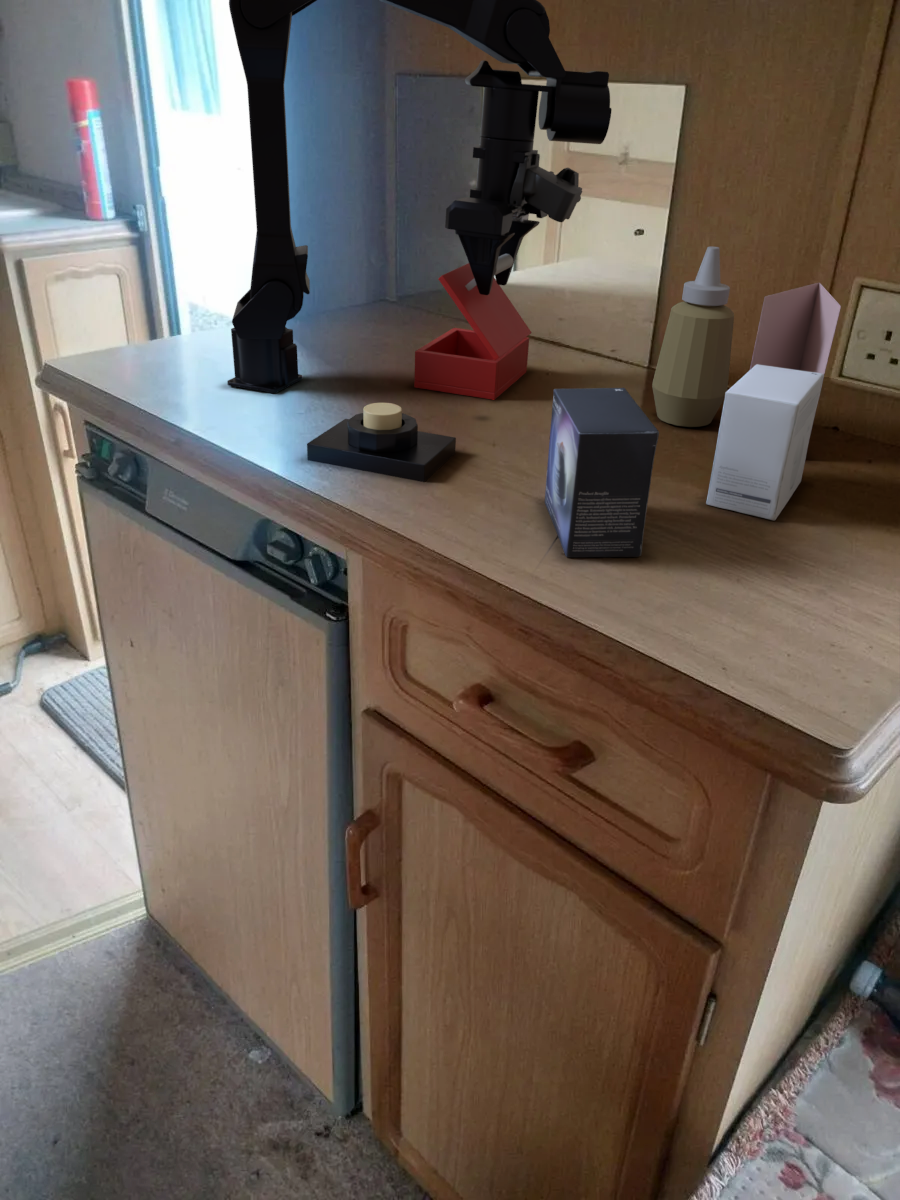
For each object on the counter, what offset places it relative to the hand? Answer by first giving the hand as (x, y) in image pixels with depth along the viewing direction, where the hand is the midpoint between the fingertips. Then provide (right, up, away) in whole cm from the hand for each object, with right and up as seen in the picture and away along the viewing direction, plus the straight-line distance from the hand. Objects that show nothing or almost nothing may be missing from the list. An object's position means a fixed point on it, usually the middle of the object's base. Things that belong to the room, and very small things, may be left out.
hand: (493, 289), depth 105 cm
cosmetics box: (+23, -26, -21) cm, 41 cm away
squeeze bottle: (+21, -16, -4) cm, 27 cm away
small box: (+7, -30, -29) cm, 42 cm away
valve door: (-1, -2, +1) cm, 2 cm away
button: (-11, -19, -19) cm, 29 cm away
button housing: (-11, -22, -17) cm, 30 cm away
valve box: (-2, -9, +6) cm, 11 cm away
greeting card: (+30, -19, -9) cm, 37 cm away
